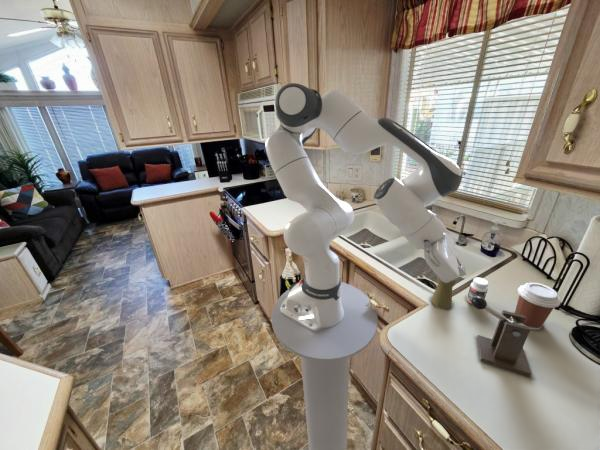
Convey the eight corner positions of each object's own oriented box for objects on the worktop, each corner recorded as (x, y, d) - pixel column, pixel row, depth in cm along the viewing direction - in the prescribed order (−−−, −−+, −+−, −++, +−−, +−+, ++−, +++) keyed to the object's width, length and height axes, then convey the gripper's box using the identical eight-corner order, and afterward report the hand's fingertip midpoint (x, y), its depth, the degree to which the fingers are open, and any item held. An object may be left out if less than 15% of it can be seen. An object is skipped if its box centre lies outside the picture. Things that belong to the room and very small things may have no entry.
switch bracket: (480, 361, 64) (493, 325, 59) (476, 338, 71) (488, 303, 66) (530, 376, 60) (548, 339, 55) (521, 350, 66) (537, 314, 61)
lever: (468, 306, 63) (478, 299, 61) (467, 298, 65) (477, 291, 63) (515, 336, 60) (526, 330, 58) (512, 327, 63) (523, 320, 61)
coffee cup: (547, 338, 69) (563, 305, 64) (506, 322, 75) (518, 291, 70) (548, 319, 75) (563, 288, 70) (510, 306, 81) (521, 275, 76)
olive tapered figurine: (454, 301, 84) (460, 275, 80) (447, 311, 80) (454, 284, 76) (435, 293, 88) (440, 268, 84) (428, 302, 84) (433, 276, 80)
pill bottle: (464, 301, 84) (470, 281, 81) (468, 294, 87) (474, 274, 83) (481, 308, 81) (487, 287, 77) (484, 300, 84) (491, 280, 80)
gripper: (437, 245, 52) (482, 293, 52) (436, 211, 69) (470, 247, 69) (412, 259, 56) (454, 304, 56) (416, 224, 72) (448, 258, 72)
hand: (462, 272), depth 62 cm, fingers closed
